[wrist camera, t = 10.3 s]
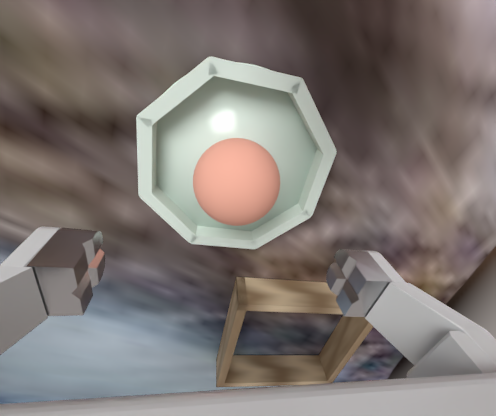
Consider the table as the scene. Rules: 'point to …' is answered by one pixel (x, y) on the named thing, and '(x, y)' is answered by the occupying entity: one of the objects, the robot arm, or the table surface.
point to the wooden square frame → (285, 366)
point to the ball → (236, 181)
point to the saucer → (225, 127)
